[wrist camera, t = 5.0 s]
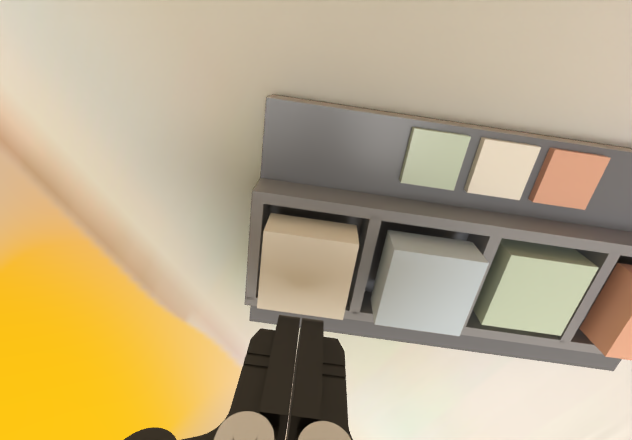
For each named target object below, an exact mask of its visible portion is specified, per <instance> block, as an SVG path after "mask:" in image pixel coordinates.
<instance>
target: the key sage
mask: <svg viewBox="0 0 632 440" xmlns="http://www.w3.org/2000/svg"><path fill="white" fill-rule="evenodd" d="M598 268H599V267H597V266H596V265H595V264H593V263H592V262H591V261H590V260H588V259H587V258H586V257H584V256H583V255H582V254H581V253H579V252H578V251H577V250H575V249H573V248H566V247H559V246H553V245H546V244H539V243H532V242H525V241H518V240H511V239H504V238H502V239H501V241H500V244H499V246H498V249H497V251H496V254H495V256H494V259H493V261H492V264H491V266H490V268H489V271H488V273H487V276H486V278H485V281H484V283H483V286H482V288H481V291H480V293H479V296H478V298H477V300H476V303H475V305H474V308H473V311H474V312H475V314H476V316H477V318H478V319H479V321H480V323H481V325H487V326H494V327H502V328H509V329H516V330H523V331H530V332H537V333H544V334H552V335H559V336H561V334H562V333H563V331H564V329H565V327H566V325H567V324H568V322H569V320H570V318H571V316H572V315H573V313H574V311H575V309H576V308H577V306H578V304H579V302H580V300H581V299H582V297H583V295H584V293H585V291H586V290H587V288H588V286H589V284H590V283H591V281H592V279H593V277H594V275H595V274H596V272H597V270H598Z"/></svg>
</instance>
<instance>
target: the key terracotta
mask: <svg viewBox="0 0 632 440" xmlns="http://www.w3.org/2000/svg"><path fill="white" fill-rule="evenodd" d="M579 329H580V330H581V331H582V332H583V333H584V334H585V335H586V336H587V337H588V339H589V340H590V341H591V342H592V343H593V344H594V345H595V346H596V347H597V348H598V349H599V350H600V351H601V353H602V354H603V355H604V356H605V357H612V358H619V359H626V360H632V265H629V264H622V263H617V264H616V266H615V268H614V270H613V271H612V273H611V275H610V276H609V278H608V280H607V282H606V283H605V285H604V287H603V288H602V290H601V292H600V294H599V295H598V297H597V299H596V301H595V302H594V304H593V306H592V307H591V309H590V311H589V313H588V314H587V316H586V318H585V319H584V321H583V323H582V325H581V326H580V328H579Z"/></svg>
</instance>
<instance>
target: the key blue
mask: <svg viewBox="0 0 632 440" xmlns="http://www.w3.org/2000/svg"><path fill="white" fill-rule="evenodd" d="M488 264H489V263H488V261H487V260H486V259H485V257H484V256H483V255H482V254H481V252H480V251H479V250H478V248H477V247H476V246H475V245H474V243H473V242H470V241H463V240H456V239H449V238H442V237H435V236H428V235H421V234H414V233H407V232H400V231H393V230H388V231H387V235H386V239H385V243H384V247H383V251H382V255H381V259H380V263H379V267H378V271H377V275H376V279H375V283H374V287H373V291H372V295H371V299H370V300H371V306H372V312H373V318H374V325H381V326H389V327H396V328H403V329H410V330H417V331H425V332H432V333H439V334H446V335H453V336H460V334H461V331H462V329H463V326H464V324H465V321H466V319H467V317H468V314H469V312H470V309H471V307H472V304H473V302H474V299H475V297H476V294H477V292H478V289H479V287H480V284H481V282H482V279H483V277H484V274H485V272H486V269H487V267H488Z"/></svg>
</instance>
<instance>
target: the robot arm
mask: <svg viewBox="0 0 632 440" xmlns="http://www.w3.org/2000/svg"><path fill="white" fill-rule="evenodd" d="M299 325H300V317H293V316H285V315H279V317H278V321H277V326H276V331H275V330H268V329H260V330H259V331H258V332H257V333H256V334H255V335H254V336H253V337H252V338H251V340H250V344H249V347H248V350H247V355H246V357H245V361H244V365H243V367H242V371H241V374H240V378H239V381H238V385H237V388H236V391H235V395H234V398H233V402H232V405H231V409H230V411H229V414H228V415H227V417H226V419H225V420H224V421H223V422H222V423H221V424H220V425H219V426H218V427H217V428H216V429H214V430H213V431H211V432H209V433H207V434H204V435H201V436H197V437H193V438H187V439H182V440H285V436H286V429H287V436H286V440H353V439H352V437H351V435H350V432H349V427H348V413H347V393H346V380H345V379H346V373H345V353H344V350H343V348H342V346H341V344H340V342H339V341H338V339H335V338H328V337H323V330H324V321H323V320H315V319H308V318H302V322H301V328H300V335H299V341H298V333H299ZM297 341H298V348H297ZM296 350H297V354H296ZM295 358H296V361H295ZM294 367H295V369H294ZM293 375H294V377H293ZM292 383H293V386H292ZM291 392H292V394H291ZM290 400H291V403H290ZM289 408H290V411H289ZM288 416H289V419H288ZM287 423H288V428H287ZM124 440H176V438H175V436H174V435H173V434H172V433H171V432H169V431H168V430H165V429H162V428H146V429H143V430H140V431H138V432H135V433H134V434H132V435H131V436H129V437H127V438H125V439H124Z"/></svg>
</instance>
